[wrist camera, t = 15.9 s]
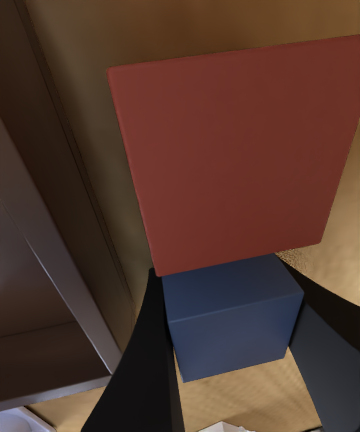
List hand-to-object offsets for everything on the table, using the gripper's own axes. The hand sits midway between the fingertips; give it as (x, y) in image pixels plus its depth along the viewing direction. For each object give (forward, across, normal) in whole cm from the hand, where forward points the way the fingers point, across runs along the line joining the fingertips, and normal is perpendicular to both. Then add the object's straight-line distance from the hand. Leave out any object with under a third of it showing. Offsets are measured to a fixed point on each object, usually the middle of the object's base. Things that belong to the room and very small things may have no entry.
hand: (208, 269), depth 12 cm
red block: (+1, 0, -7) cm, 7 cm away
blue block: (+1, 0, 0) cm, 1 cm away
